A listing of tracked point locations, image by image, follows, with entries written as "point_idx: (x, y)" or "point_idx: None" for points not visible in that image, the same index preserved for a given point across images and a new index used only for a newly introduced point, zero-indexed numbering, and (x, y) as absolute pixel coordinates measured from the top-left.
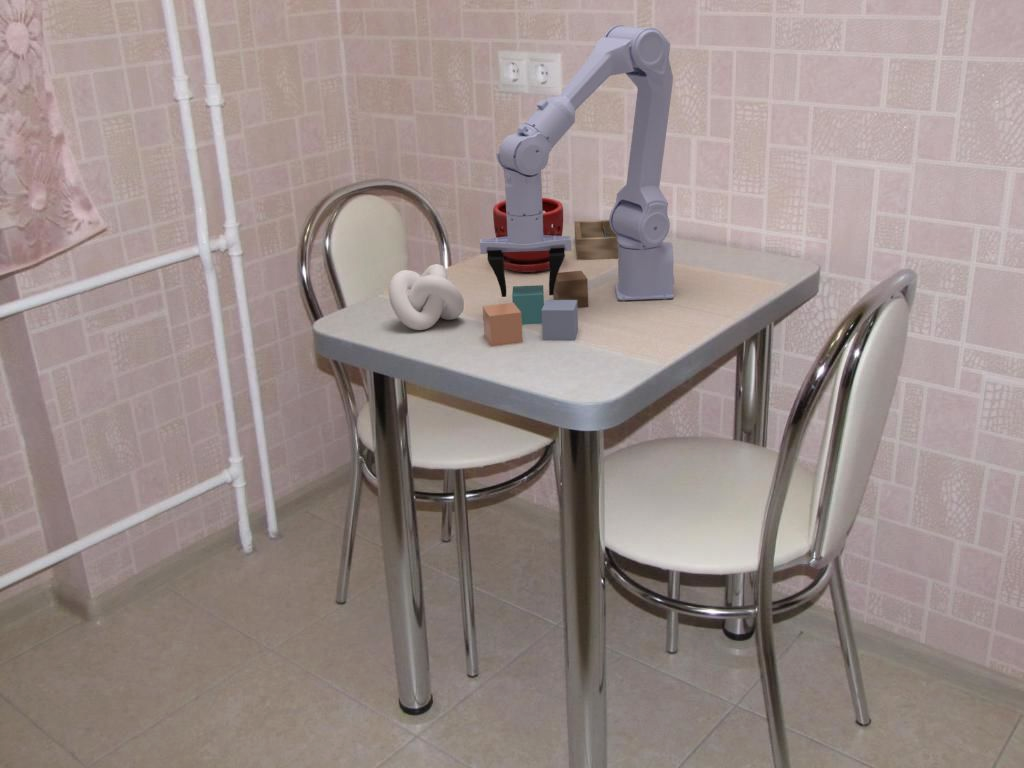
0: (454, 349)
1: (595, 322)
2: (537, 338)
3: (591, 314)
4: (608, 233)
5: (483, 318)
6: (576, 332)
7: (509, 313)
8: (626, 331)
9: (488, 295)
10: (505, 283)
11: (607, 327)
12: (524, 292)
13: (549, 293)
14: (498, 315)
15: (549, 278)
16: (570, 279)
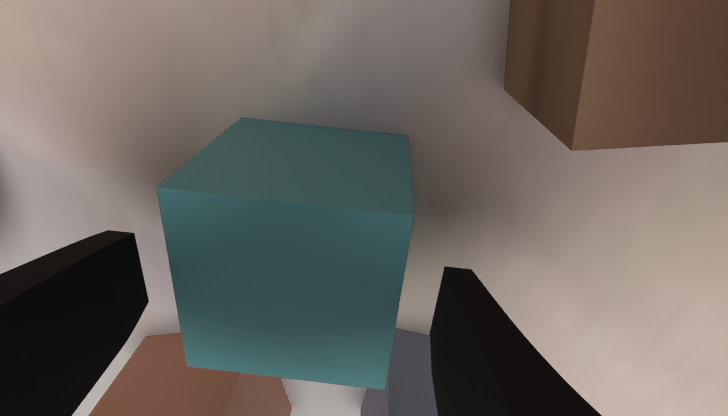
0: (76, 409)
1: (616, 305)
2: (344, 392)
3: (650, 206)
4: None
5: (102, 402)
6: None
7: None
8: (685, 406)
9: None
10: (83, 292)
11: (637, 361)
12: (262, 330)
13: (432, 346)
14: None
15: (460, 379)
16: (721, 110)
